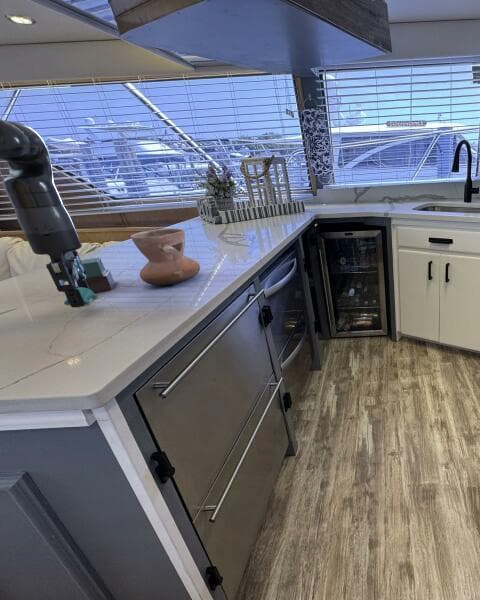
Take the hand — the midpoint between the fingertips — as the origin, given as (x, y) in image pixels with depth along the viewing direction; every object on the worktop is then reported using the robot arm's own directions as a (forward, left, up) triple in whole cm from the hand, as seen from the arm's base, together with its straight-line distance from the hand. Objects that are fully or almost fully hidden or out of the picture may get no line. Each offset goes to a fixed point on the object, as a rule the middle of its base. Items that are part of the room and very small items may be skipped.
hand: (82, 300), depth 73 cm
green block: (-1, +20, +1) cm, 20 cm away
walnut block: (-1, +20, -3) cm, 20 cm away
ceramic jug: (+17, +14, -3) cm, 22 cm away
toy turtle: (0, 0, -1) cm, 1 cm away
